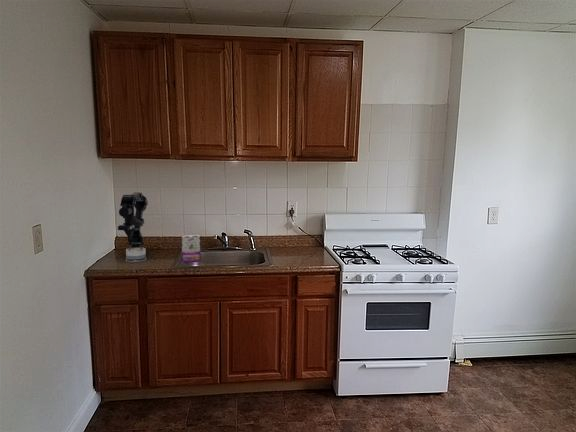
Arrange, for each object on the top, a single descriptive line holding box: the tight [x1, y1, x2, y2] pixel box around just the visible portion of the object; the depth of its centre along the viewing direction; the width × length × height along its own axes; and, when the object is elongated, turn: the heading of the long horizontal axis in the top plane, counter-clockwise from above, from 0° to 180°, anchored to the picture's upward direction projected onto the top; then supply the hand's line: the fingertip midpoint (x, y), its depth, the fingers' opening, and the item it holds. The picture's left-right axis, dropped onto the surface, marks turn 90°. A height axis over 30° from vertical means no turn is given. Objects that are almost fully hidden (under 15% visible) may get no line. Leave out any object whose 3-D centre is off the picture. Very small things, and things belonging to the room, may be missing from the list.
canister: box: [125, 246, 147, 264], centre depth 232 cm, size 12×12×7 cm
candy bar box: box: [181, 234, 202, 264], centre depth 232 cm, size 11×5×16 cm, turn 106°
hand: (130, 239), depth 237 cm, fingers closed
